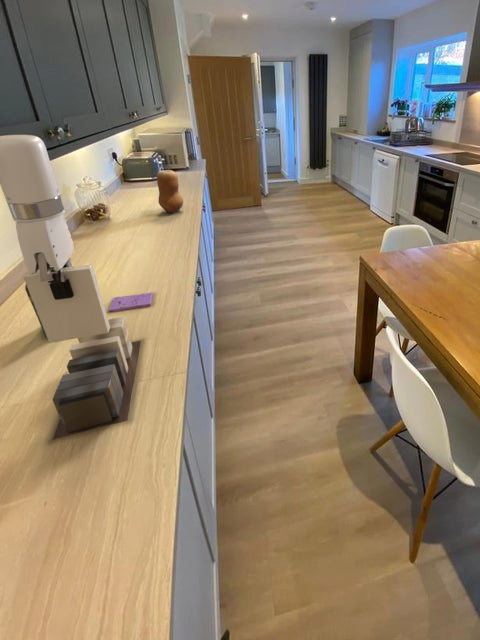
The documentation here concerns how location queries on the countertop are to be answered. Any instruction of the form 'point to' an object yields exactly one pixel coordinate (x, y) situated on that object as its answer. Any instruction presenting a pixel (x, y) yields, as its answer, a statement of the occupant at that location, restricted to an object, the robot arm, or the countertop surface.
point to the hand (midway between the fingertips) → (66, 293)
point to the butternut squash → (169, 191)
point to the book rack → (97, 381)
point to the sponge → (131, 302)
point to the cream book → (70, 305)
